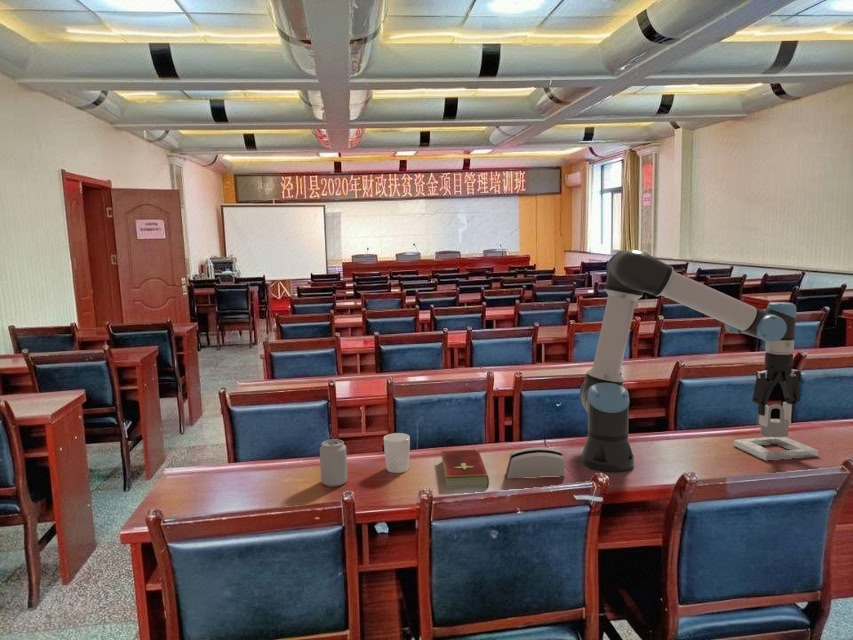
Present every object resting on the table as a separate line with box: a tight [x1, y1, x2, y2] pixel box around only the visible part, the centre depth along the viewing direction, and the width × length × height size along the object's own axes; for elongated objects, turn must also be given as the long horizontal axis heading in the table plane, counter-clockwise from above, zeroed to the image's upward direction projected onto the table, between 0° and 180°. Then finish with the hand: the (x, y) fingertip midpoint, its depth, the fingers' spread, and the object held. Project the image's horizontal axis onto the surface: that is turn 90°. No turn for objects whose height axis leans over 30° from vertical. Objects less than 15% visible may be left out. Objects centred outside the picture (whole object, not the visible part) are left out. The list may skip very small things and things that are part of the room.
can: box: [319, 438, 348, 488], centre depth 164 cm, size 8×8×12 cm
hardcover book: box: [440, 448, 490, 489], centre depth 169 cm, size 12×21×4 cm, turn 2°
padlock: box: [760, 404, 790, 438], centre depth 180 cm, size 7×4×10 cm, turn 89°
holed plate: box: [732, 436, 819, 462], centre depth 181 cm, size 18×14×2 cm
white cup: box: [383, 432, 411, 474], centre depth 173 cm, size 8×8×10 cm
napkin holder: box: [505, 447, 566, 478], centre depth 165 cm, size 17×5×10 cm, turn 92°
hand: (774, 424), depth 180 cm, fingers closed on padlock, 7 cm apart
